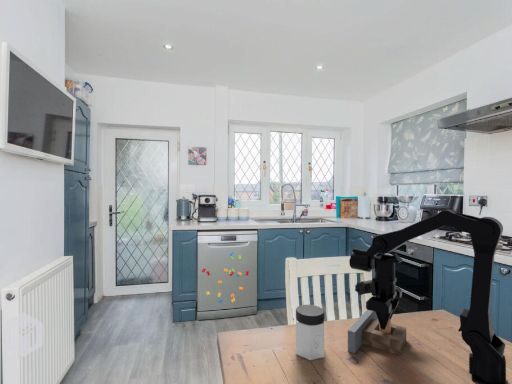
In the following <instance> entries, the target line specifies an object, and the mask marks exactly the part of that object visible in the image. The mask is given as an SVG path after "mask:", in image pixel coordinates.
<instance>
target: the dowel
mask: <svg viewBox="0 0 512 384" xmlns="http://www.w3.org/2000/svg"><path fill="white" fill-rule="evenodd" d="M391 320H392V319H391ZM391 320H390V319H389V321H388V323H387V326H386V328H385V330H383V329H381V328H380V324H379V331H381V332H384V333H388V334H391V324H392V321H391Z"/></svg>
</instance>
